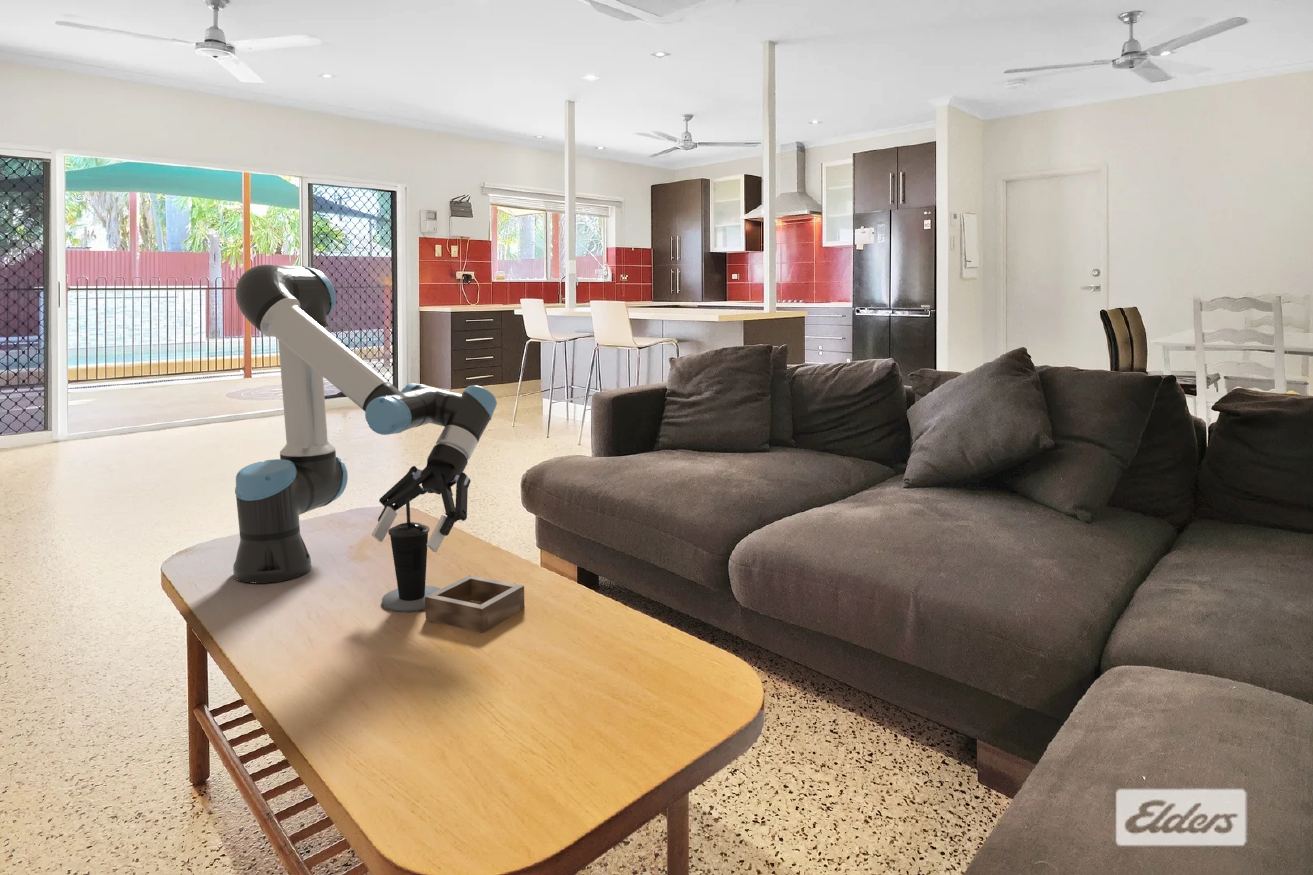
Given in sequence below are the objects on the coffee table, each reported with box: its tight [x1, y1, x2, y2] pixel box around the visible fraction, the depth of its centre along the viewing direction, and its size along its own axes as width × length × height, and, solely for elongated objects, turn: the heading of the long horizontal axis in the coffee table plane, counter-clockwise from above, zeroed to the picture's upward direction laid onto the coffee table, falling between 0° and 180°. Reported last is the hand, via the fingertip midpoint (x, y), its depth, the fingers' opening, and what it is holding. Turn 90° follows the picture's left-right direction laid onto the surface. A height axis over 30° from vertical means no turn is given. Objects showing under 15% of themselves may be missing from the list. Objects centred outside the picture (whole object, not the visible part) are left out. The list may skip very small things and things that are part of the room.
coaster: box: [381, 585, 442, 613], centre depth 162 cm, size 12×12×1 cm
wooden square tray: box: [424, 574, 525, 634], centre depth 156 cm, size 13×13×4 cm
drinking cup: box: [387, 497, 431, 601], centre depth 161 cm, size 8×8×20 cm
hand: (403, 543), depth 158 cm, fingers open, 13 cm apart
